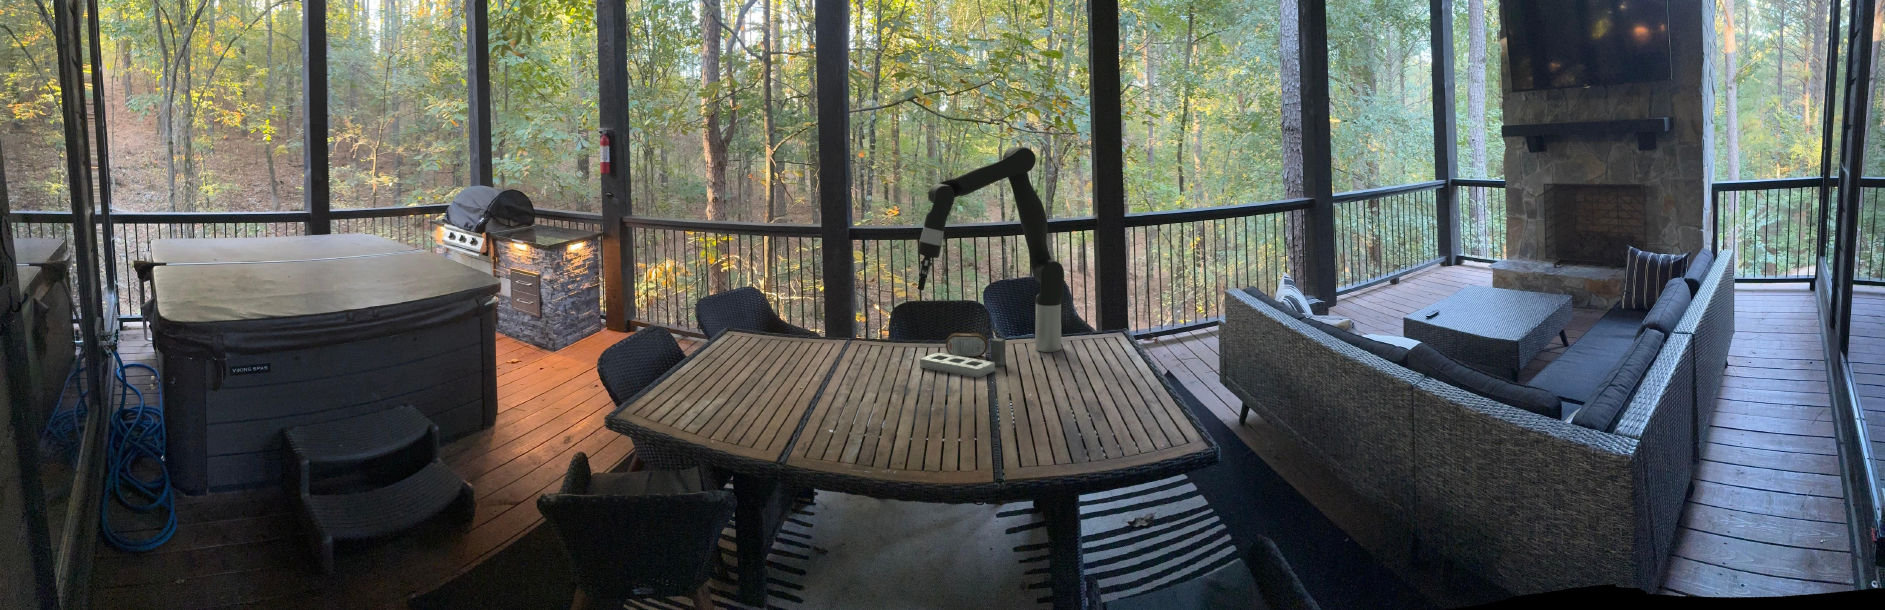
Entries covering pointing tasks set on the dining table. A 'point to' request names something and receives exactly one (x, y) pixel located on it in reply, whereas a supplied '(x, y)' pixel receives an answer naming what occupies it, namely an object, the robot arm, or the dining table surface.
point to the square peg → (998, 351)
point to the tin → (966, 344)
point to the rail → (957, 365)
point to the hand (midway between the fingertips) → (920, 288)
